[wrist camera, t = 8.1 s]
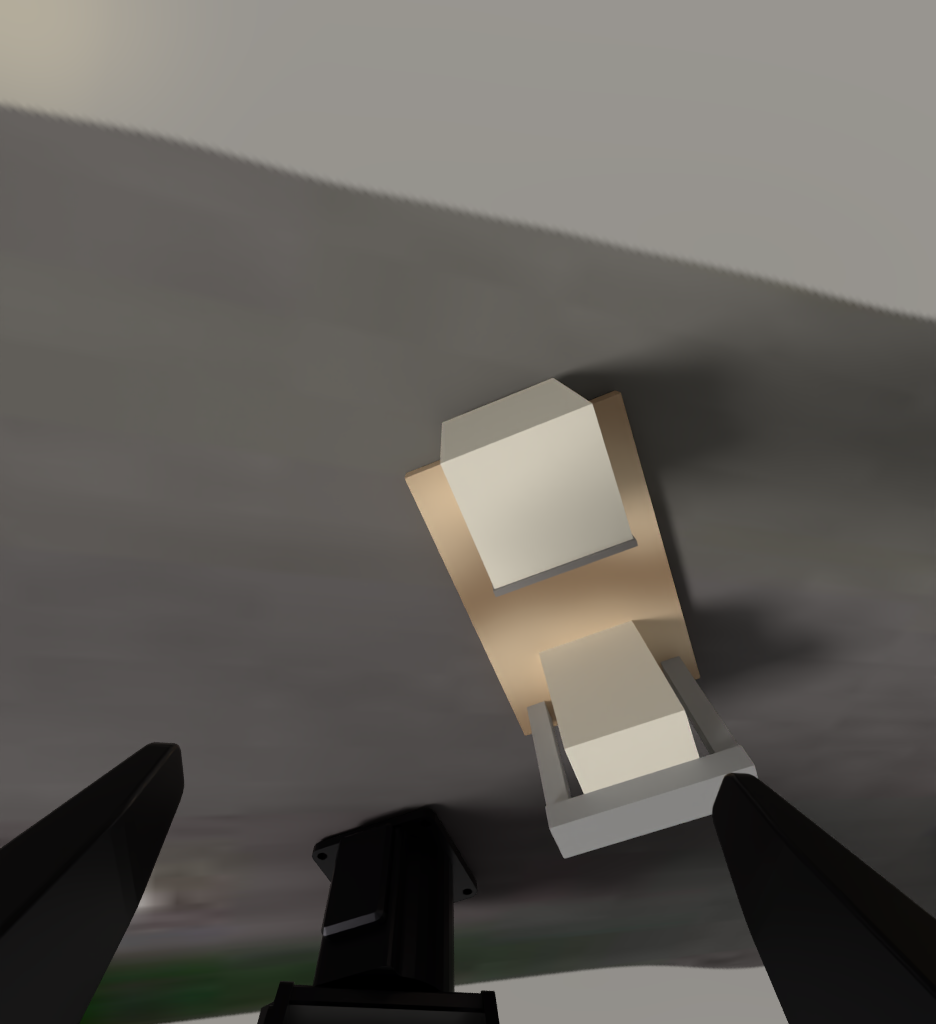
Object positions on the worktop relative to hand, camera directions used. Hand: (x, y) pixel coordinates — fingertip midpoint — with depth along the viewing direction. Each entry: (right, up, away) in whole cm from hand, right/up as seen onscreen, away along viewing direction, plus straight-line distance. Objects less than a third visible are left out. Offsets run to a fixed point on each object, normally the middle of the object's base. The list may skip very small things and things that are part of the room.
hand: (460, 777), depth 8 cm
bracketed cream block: (+6, -2, +13) cm, 15 cm away
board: (+4, +2, +12) cm, 13 cm away
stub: (+2, +6, +10) cm, 12 cm away
